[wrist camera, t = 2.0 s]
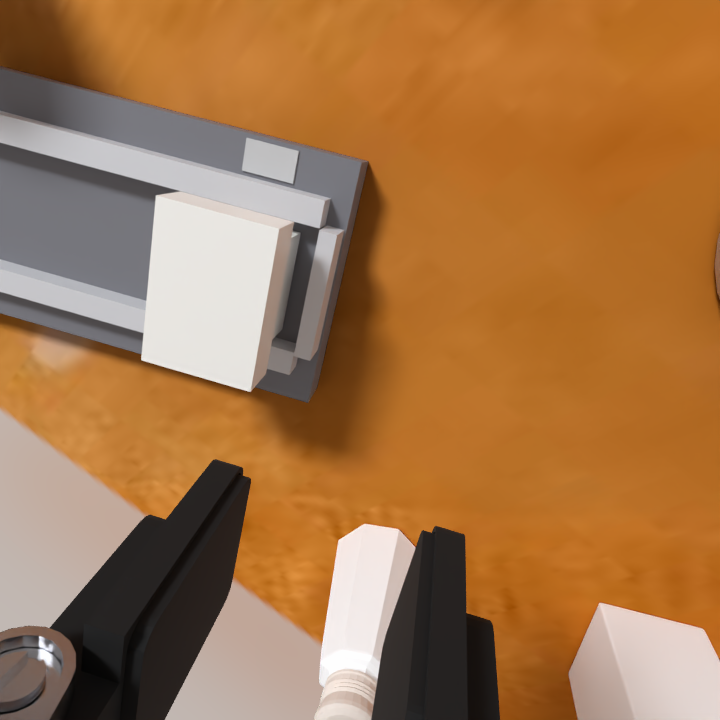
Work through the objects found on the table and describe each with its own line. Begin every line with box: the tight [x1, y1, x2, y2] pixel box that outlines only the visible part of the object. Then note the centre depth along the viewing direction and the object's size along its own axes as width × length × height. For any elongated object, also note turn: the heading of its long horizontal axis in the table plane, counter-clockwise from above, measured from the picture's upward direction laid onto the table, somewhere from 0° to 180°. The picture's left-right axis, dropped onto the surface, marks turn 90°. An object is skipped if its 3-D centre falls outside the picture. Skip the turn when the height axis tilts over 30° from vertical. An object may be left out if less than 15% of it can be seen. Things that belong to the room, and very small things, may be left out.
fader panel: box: [0, 66, 368, 403], centre depth 28 cm, size 26×12×4 cm, turn 77°
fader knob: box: [141, 191, 301, 392], centre depth 24 cm, size 5×7×5 cm
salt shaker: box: [314, 524, 416, 720], centre depth 29 cm, size 5×5×11 cm
